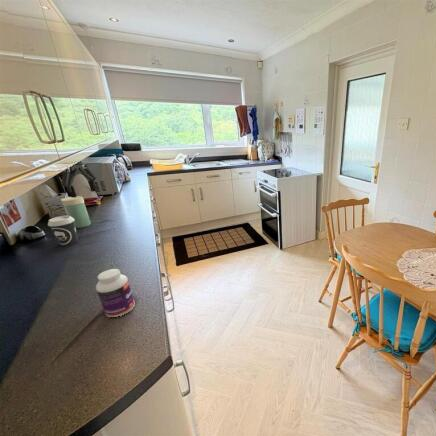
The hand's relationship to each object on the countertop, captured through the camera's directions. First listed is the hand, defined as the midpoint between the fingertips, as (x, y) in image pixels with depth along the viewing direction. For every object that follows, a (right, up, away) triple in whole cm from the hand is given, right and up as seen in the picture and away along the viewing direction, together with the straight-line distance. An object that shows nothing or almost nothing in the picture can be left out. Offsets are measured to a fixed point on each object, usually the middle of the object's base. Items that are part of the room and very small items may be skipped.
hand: (84, 194), depth 137 cm
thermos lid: (-5, -3, -3) cm, 6 cm away
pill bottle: (+67, -45, -61) cm, 101 cm away
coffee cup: (+12, -29, -20) cm, 37 cm away
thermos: (-5, -19, +4) cm, 20 cm away
